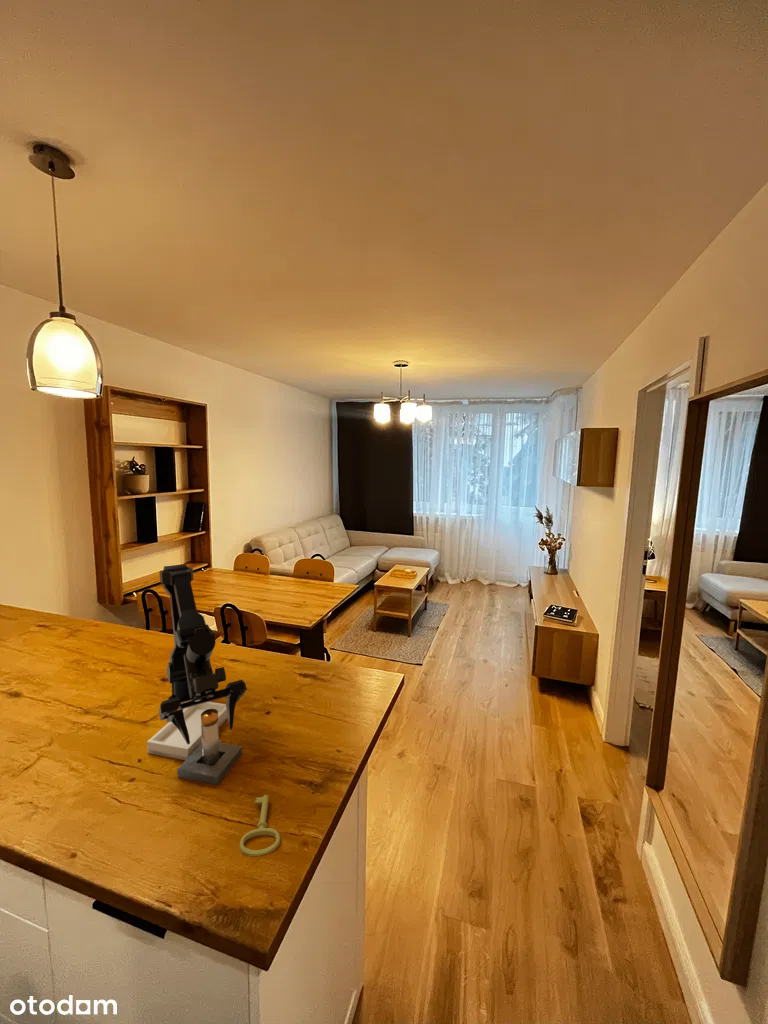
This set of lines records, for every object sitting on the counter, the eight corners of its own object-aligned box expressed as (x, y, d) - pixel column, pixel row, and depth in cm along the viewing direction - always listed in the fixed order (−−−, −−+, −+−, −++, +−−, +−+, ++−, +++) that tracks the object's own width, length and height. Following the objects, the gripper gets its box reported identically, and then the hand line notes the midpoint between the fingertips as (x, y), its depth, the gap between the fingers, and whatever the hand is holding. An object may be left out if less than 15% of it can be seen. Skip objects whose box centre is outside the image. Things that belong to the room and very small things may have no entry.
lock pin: (199, 769, 96) (197, 717, 95) (208, 758, 100) (207, 707, 98) (213, 772, 96) (211, 719, 94) (222, 761, 99) (221, 710, 97)
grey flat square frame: (177, 777, 94) (177, 769, 94) (205, 747, 104) (204, 739, 103) (218, 785, 92) (217, 777, 92) (242, 754, 102) (242, 746, 101)
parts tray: (147, 753, 101) (146, 741, 101) (195, 709, 119) (194, 699, 118) (188, 760, 99) (187, 749, 99) (230, 715, 116) (230, 705, 116)
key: (268, 800, 89) (268, 791, 89) (282, 850, 78) (282, 839, 78) (232, 813, 86) (232, 803, 85) (242, 866, 75) (242, 856, 75)
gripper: (158, 668, 93) (167, 742, 86) (243, 648, 104) (258, 713, 96) (155, 685, 101) (164, 755, 93) (235, 665, 111) (248, 726, 104)
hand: (210, 736), depth 96 cm, fingers open, 9 cm apart
